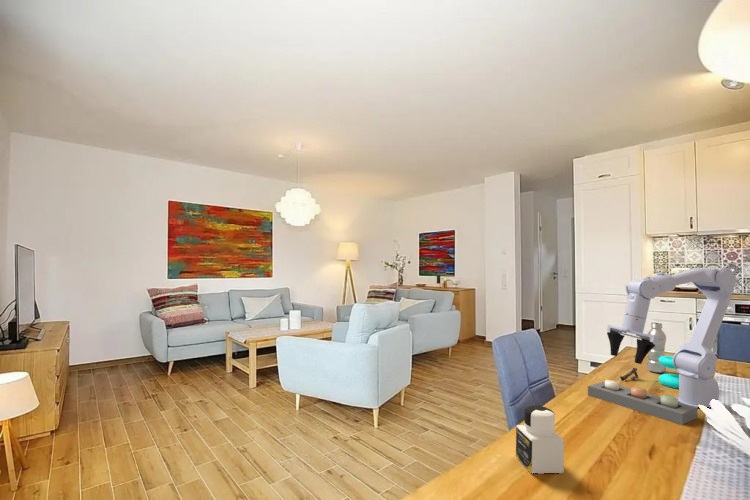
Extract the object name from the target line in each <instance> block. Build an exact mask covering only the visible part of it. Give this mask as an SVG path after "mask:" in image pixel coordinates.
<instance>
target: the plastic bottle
mask: <svg viewBox="0 0 750 500" xmlns="http://www.w3.org/2000/svg"><path fill="white" fill-rule="evenodd" d="M650 325H651V326H650V327H651V329H650V330H649V331H647V334H648V335H652V336H656V337H658V342H657V343H653V344H655V347H654V348H652V349H651V350H650V351H649V352H648V354H647V360H646V369H647V370H648V371H650V372H653V373H658V374H660V373H661V374H662V373H663V374H665V373H666V370H667V367H665V366H663V365H661V364H660V363H659V358H660V357H661V356H666V354H665V349H666V343H667V342H666V341H667V336H666V334H665V332H664V331H663V330H662V329H663V324H662V323H661V322H650Z"/></svg>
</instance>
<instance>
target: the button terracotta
mask: <svg viewBox="0 0 750 500" xmlns="http://www.w3.org/2000/svg"><path fill="white" fill-rule="evenodd" d="M630 389H631V396H632V397H636V398H639V399H643V400H645V399H647V394H648V391H647V389H645V388H642V387H637V386H633V387H630Z"/></svg>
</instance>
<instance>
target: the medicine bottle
mask: <svg viewBox="0 0 750 500" xmlns="http://www.w3.org/2000/svg"><path fill="white" fill-rule="evenodd" d="M523 413H524V414H523V415H524V419H523V420H524V421H523V424H517V425H516V426H515V428H516V429H515V431H516V432H515V457H516V458H517V459H518V461H519V462H520V463H521V464H522V465H523V467H525V469H526V470H527V471H528V473H529V474H531V473H532V474H531V475H536V474H535V473H538V474H537V475H543V474H544V473H559V474H564V469H565V467H564V464H565V463H564V462H565V461H564V459H565V456H564V455H565V453H564V452H565V440H564V438H563V437H562V436H560V434H558V433H557V432H555V431H556V430H555V429H556V414H555V412H554V411H553V410H552V409H550V408H548V407H546V406H542V405H528V406H526V407H525V408H524V411H523ZM533 473H534V474H533ZM544 475H545V474H544Z"/></svg>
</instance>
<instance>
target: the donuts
mask: <svg viewBox="0 0 750 500" xmlns="http://www.w3.org/2000/svg"><path fill="white" fill-rule="evenodd" d="M673 356H674V355H665V356H661V357H660V358H659V363H660V364H661V365H663V366H665V367H666V369H671V370H676V371H677V369H676V368H675V366H674V365H673ZM658 381H659V383H660V384H661V385H663V386H665V387H669V388H673V389H677V390H679V374H678V373H663V374H662V373H661V374H660V375H659V376H658Z"/></svg>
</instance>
